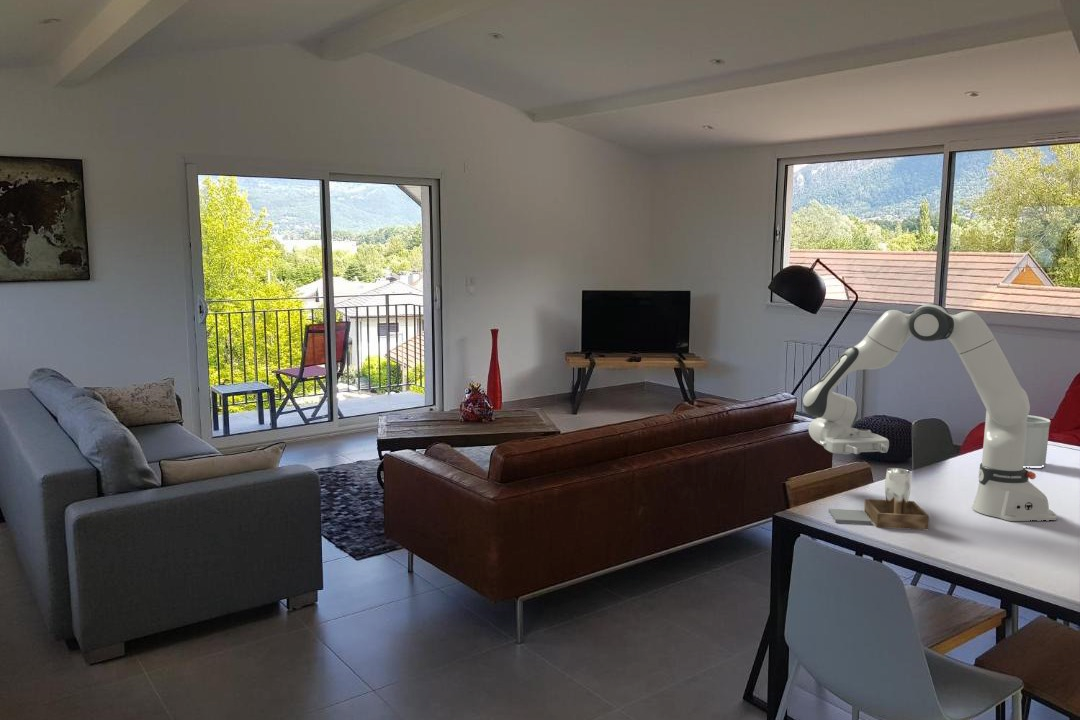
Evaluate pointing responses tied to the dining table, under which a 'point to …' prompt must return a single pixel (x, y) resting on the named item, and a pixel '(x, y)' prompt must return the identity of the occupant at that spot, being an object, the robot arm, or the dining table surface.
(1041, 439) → the utensil holder
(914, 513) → the wooden tray
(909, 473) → the beer glass
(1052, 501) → the dining table surface
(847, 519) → the slate mat
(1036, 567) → the dining table surface
